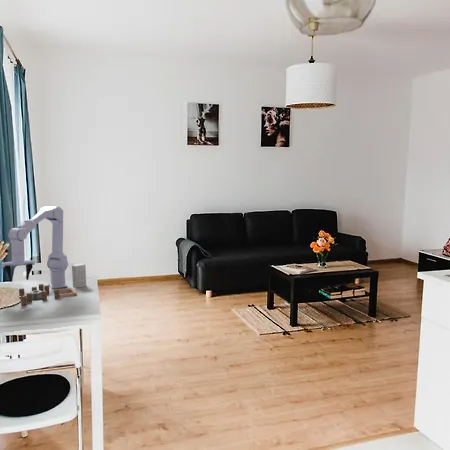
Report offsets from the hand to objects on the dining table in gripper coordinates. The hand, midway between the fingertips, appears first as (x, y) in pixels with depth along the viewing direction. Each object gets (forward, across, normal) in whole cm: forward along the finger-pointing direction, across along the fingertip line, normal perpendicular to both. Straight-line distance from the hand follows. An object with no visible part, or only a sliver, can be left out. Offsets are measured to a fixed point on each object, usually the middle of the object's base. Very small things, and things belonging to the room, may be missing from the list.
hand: (18, 280), depth 231 cm
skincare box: (+9, +32, +12) cm, 35 cm away
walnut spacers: (+10, +8, +1) cm, 13 cm away
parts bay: (+10, +21, +1) cm, 23 cm away
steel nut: (+10, +8, +1) cm, 13 cm away
